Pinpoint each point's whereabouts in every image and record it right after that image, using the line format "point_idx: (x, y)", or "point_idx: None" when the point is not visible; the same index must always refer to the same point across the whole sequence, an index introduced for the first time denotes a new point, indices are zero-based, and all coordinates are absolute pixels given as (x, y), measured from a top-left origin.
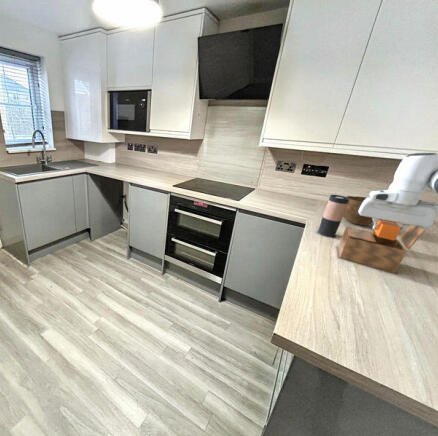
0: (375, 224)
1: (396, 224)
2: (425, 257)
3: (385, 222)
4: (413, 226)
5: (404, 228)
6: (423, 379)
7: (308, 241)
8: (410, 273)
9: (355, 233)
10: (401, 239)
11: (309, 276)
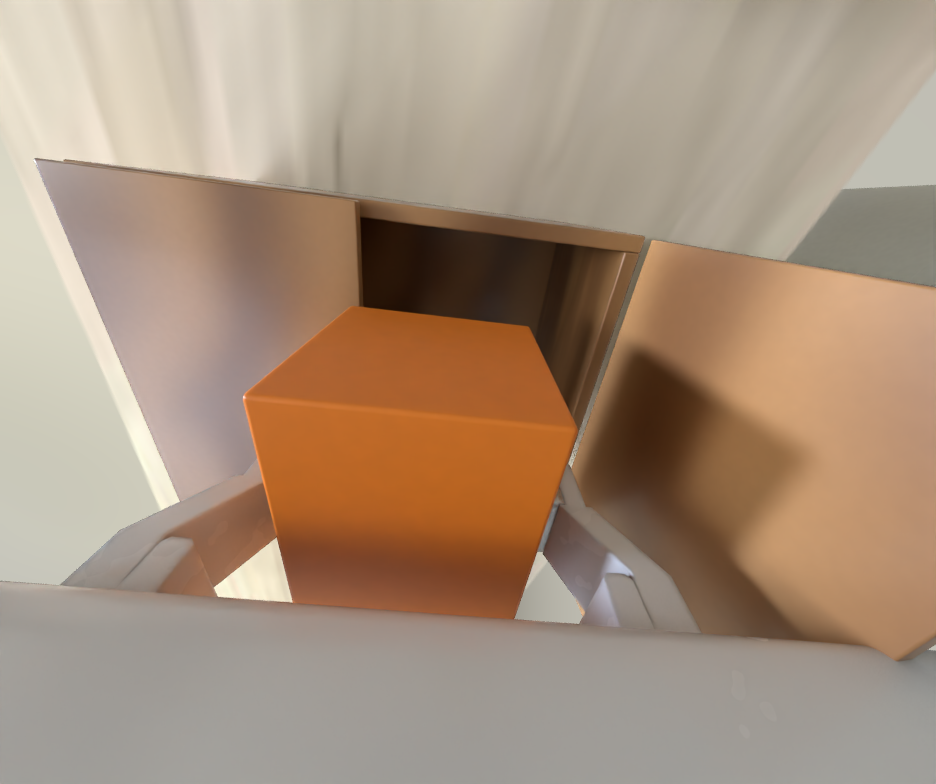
0: (252, 540)
1: (521, 549)
2: None
3: (353, 542)
4: (805, 547)
5: (584, 597)
6: None
7: (55, 219)
8: (605, 371)
9: (208, 419)
10: (622, 355)
11: (232, 588)
